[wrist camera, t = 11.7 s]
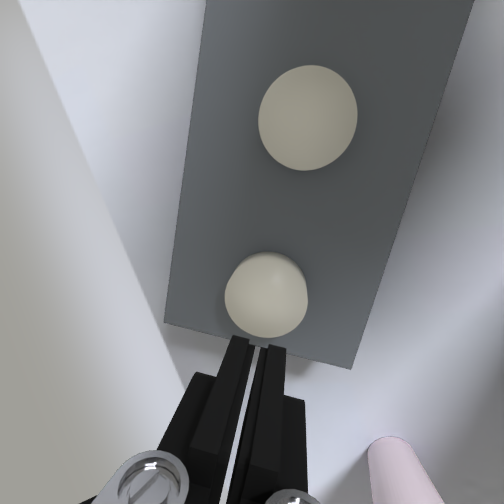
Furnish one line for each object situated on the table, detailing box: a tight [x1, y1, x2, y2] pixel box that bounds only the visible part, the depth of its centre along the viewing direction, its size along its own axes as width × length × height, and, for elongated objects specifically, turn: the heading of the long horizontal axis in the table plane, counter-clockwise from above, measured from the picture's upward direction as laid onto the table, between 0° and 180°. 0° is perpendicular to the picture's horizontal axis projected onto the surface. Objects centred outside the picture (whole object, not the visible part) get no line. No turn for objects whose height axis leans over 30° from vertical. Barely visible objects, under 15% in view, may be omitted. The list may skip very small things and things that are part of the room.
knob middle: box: [258, 65, 358, 171], centre depth 17 cm, size 4×4×6 cm
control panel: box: [164, 0, 474, 370], centre depth 18 cm, size 26×12×5 cm, turn 169°
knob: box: [225, 251, 308, 338], centre depth 19 cm, size 4×4×6 cm
